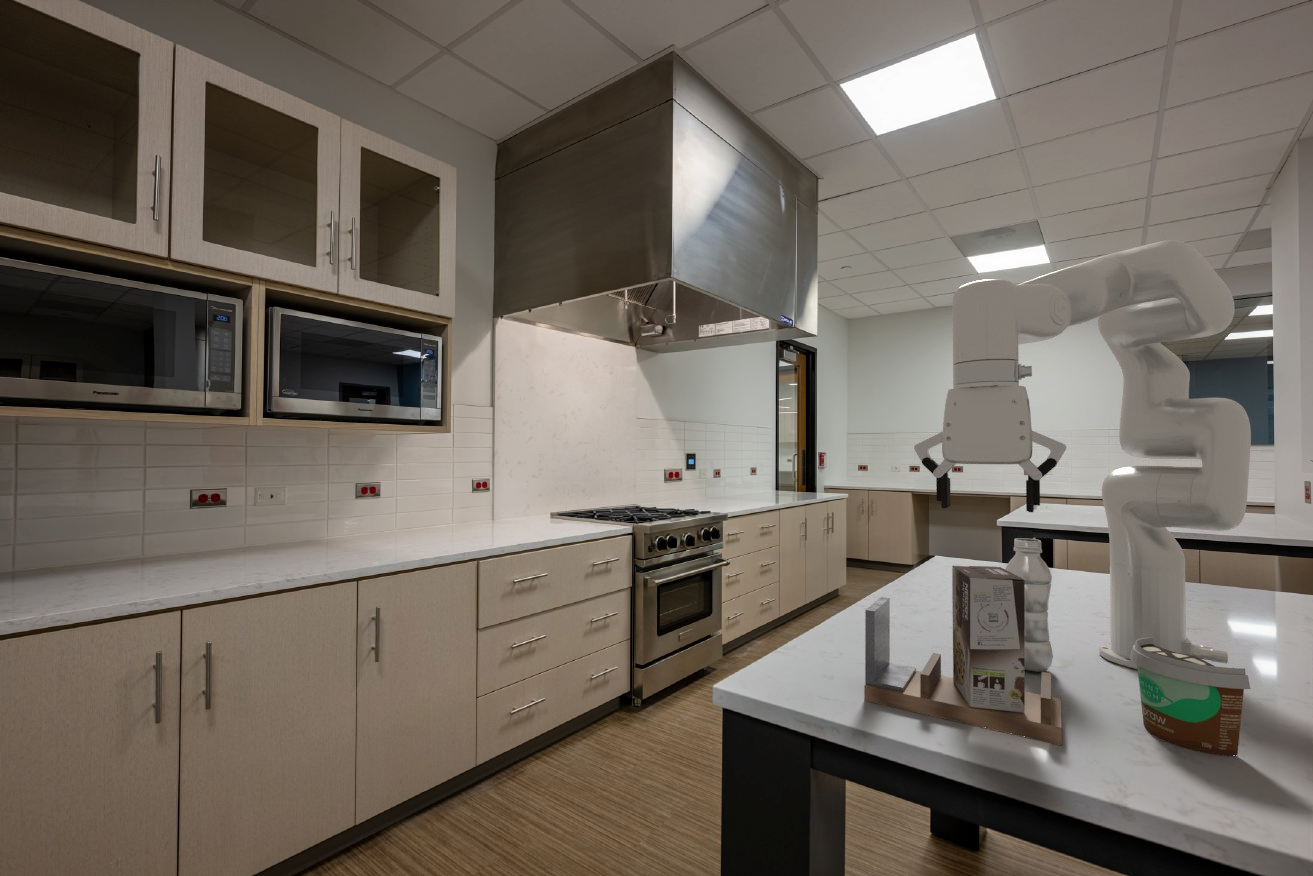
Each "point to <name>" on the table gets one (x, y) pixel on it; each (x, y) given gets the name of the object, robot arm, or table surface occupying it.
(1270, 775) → the table surface
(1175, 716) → the food container
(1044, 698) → the book rack
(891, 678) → the bookend
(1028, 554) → the plastic bottle
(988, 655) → the coffee box
